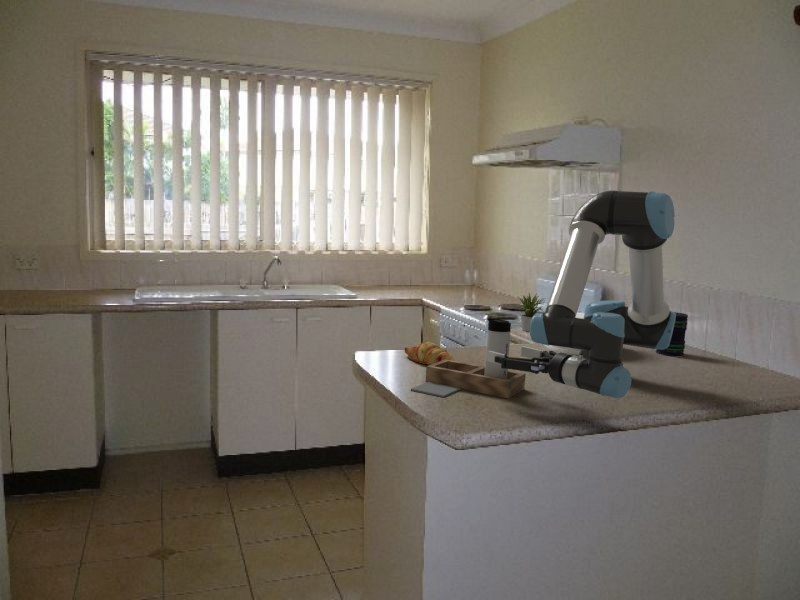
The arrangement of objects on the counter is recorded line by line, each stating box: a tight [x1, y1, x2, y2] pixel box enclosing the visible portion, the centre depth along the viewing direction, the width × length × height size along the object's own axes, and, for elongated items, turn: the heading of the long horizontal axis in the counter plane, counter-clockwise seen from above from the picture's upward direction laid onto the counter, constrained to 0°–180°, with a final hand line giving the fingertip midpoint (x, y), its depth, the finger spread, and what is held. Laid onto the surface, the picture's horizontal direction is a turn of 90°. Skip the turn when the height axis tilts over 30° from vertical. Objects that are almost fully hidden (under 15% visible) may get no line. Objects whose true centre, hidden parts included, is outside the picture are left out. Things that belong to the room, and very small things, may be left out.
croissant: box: [404, 340, 456, 366], centre depth 223 cm, size 21×10×8 cm, turn 48°
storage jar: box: [655, 312, 689, 357], centre depth 258 cm, size 10×10×15 cm
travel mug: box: [484, 316, 512, 380], centre depth 193 cm, size 6×7×20 cm
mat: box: [410, 382, 462, 398], centre depth 190 cm, size 10×10×1 cm
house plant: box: [515, 292, 547, 333], centre depth 289 cm, size 14×14×16 cm
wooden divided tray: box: [425, 359, 526, 399], centre depth 197 cm, size 25×12×4 cm, turn 59°
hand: (505, 353), depth 190 cm, fingers open, 13 cm apart
